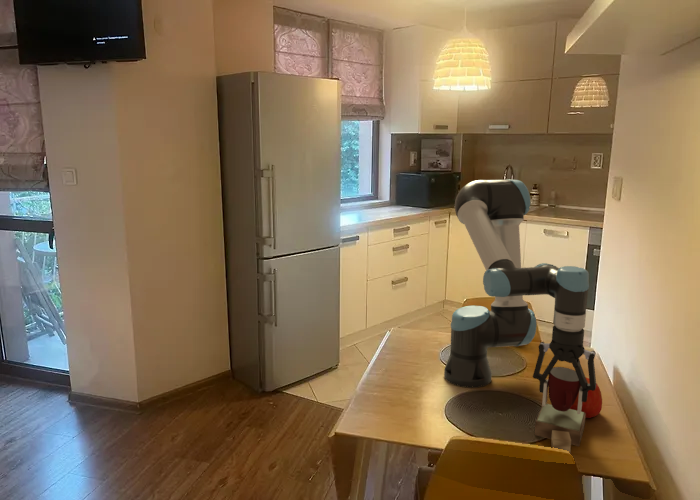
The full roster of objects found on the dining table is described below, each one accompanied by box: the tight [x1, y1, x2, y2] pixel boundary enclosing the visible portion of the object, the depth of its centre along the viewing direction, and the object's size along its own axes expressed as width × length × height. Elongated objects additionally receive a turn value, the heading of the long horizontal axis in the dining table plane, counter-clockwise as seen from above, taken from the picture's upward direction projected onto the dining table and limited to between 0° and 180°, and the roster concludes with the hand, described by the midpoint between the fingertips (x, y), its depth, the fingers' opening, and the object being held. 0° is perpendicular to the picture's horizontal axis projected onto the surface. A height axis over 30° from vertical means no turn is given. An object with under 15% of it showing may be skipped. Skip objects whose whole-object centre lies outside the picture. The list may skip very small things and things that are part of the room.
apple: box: [570, 377, 603, 419], centre depth 151 cm, size 11×11×11 cm
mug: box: [547, 366, 581, 412], centre depth 140 cm, size 10×8×10 cm
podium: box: [534, 403, 586, 447], centre depth 142 cm, size 11×11×4 cm
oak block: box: [550, 430, 572, 453], centre depth 134 cm, size 4×4×4 cm
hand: (561, 407), depth 141 cm, fingers closed on mug, 8 cm apart
